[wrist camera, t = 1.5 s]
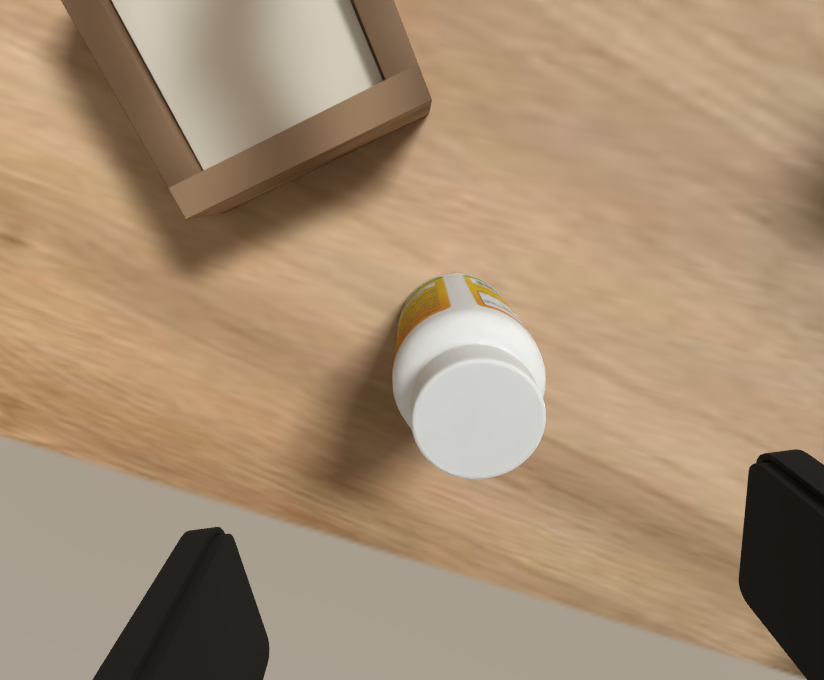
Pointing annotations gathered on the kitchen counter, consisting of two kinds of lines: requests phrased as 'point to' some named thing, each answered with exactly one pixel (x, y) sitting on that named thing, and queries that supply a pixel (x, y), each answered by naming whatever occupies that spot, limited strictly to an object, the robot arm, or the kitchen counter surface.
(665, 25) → the kitchen counter surface
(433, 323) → the supplement bottle
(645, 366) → the kitchen counter surface
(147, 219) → the kitchen counter surface
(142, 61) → the picture frame
